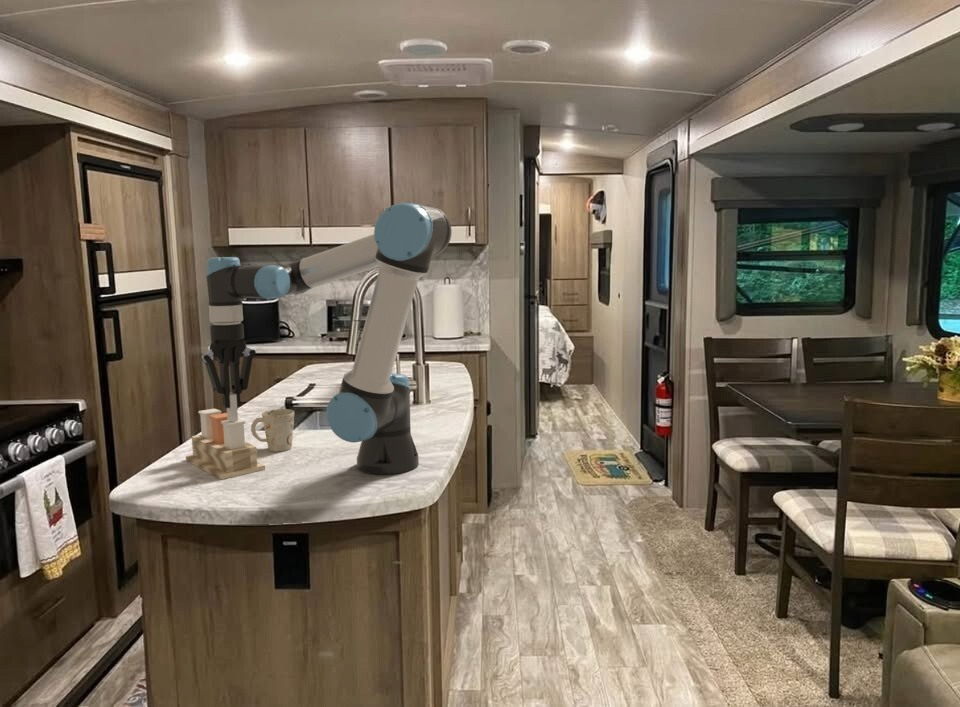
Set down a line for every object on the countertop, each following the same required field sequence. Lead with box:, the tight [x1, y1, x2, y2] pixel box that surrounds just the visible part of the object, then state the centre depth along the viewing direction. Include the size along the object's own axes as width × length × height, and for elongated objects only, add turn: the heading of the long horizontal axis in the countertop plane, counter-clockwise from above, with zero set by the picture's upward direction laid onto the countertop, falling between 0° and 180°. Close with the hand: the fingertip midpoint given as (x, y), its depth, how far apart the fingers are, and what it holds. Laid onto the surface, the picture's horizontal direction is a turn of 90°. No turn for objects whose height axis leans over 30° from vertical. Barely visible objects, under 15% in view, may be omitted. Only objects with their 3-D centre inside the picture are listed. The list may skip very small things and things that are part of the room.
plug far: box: [197, 408, 222, 439], centre depth 190 cm, size 4×4×7 cm
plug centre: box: [209, 412, 227, 445], centre depth 185 cm, size 4×4×7 cm
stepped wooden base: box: [185, 434, 266, 480], centre depth 186 cm, size 22×11×6 cm, turn 42°
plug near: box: [221, 418, 246, 450], centre depth 180 cm, size 4×4×7 cm
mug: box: [250, 408, 295, 453], centre depth 200 cm, size 8×13×10 cm, turn 78°
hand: (232, 420), depth 179 cm, fingers closed
